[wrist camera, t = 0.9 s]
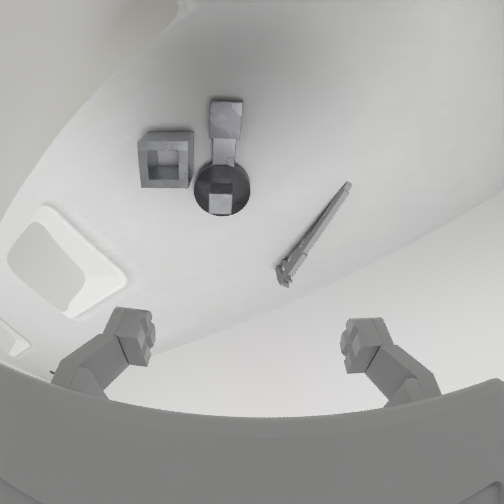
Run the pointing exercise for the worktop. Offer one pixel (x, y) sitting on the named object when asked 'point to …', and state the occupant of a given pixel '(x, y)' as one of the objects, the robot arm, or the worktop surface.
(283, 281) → the caliper
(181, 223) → the worktop surface
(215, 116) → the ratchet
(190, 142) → the grey metal block
